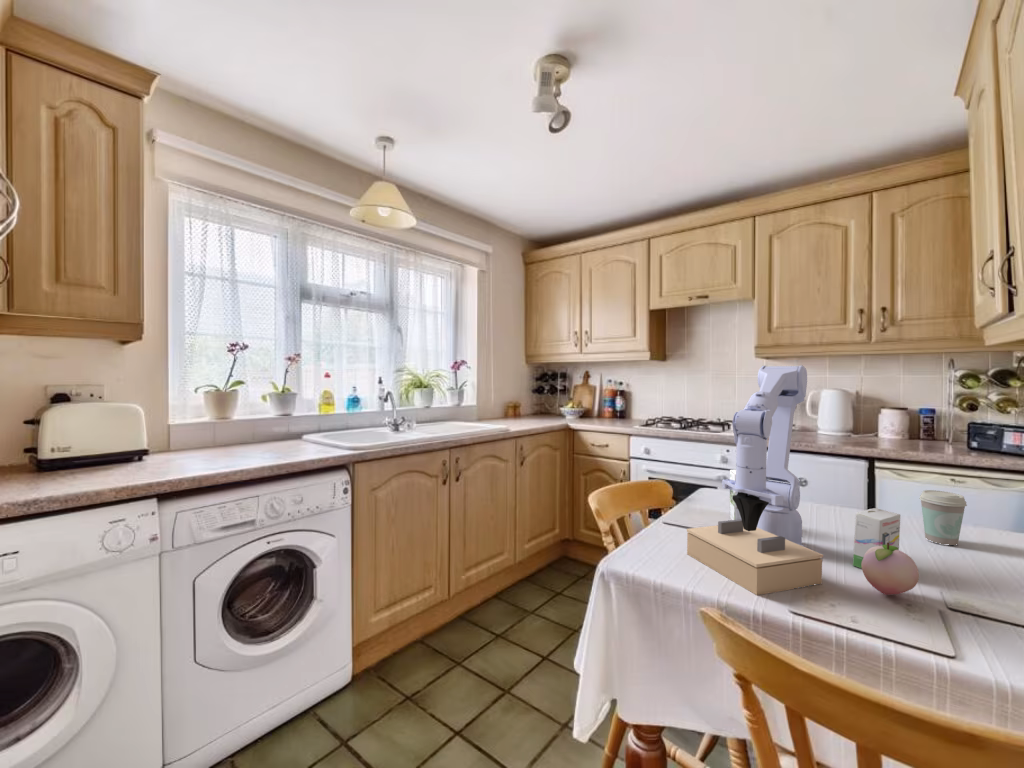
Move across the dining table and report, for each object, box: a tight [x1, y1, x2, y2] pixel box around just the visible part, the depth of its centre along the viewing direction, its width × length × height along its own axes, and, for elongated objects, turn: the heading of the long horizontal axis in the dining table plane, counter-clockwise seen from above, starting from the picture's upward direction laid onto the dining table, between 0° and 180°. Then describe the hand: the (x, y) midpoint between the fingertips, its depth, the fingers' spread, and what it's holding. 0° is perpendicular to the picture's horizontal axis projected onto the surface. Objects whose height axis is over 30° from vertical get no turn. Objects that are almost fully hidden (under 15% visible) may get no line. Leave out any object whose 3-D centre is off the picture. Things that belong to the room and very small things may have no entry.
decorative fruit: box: [861, 542, 920, 596], centre depth 85 cm, size 9×8×10 cm
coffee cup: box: [919, 489, 968, 545], centre depth 112 cm, size 8×9×12 cm
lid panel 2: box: [718, 536, 824, 568], centre depth 92 cm, size 16×10×3 cm, turn 106°
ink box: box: [852, 507, 901, 569], centre depth 98 cm, size 9×5×12 cm, turn 117°
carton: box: [686, 532, 823, 596], centre depth 97 cm, size 16×20×5 cm
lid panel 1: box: [686, 519, 777, 547], centre depth 102 cm, size 16×10×3 cm, turn 106°
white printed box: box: [729, 469, 741, 520], centre depth 126 cm, size 6×6×14 cm
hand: (749, 529), depth 97 cm, fingers closed
